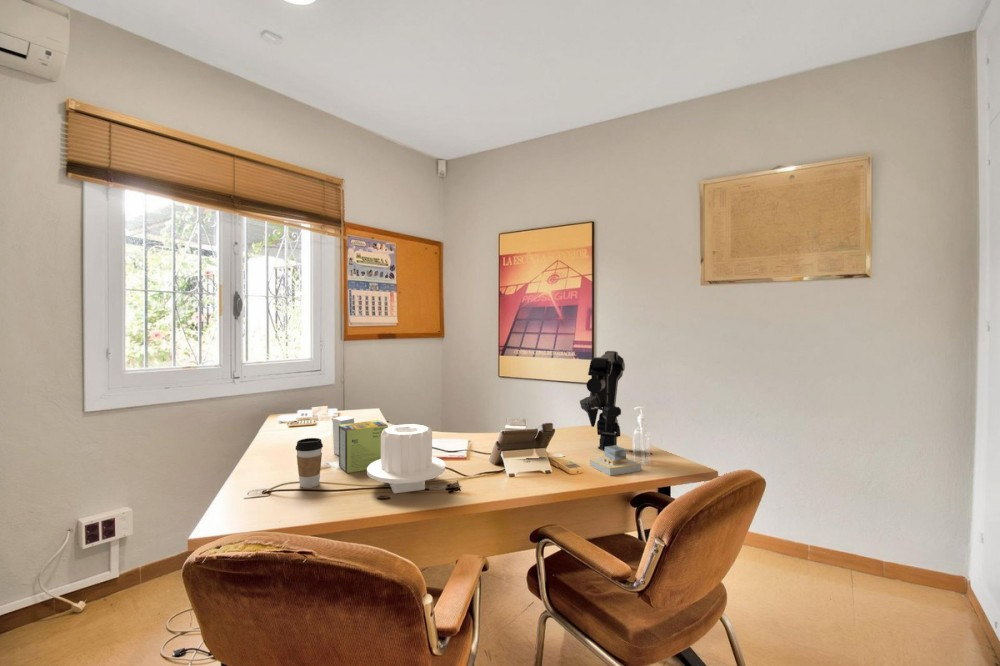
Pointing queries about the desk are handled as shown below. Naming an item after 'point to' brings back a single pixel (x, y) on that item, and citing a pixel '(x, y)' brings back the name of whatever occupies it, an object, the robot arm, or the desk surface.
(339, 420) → the skincare box
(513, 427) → the ink cartridge box
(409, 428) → the flanged gear
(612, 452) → the pallet
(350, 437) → the protein box
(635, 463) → the block
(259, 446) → the desk surface
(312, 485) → the coffee cup
